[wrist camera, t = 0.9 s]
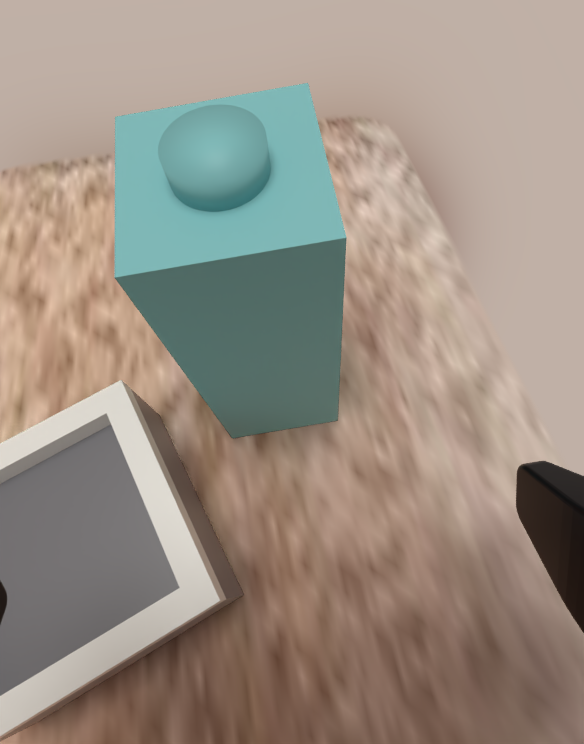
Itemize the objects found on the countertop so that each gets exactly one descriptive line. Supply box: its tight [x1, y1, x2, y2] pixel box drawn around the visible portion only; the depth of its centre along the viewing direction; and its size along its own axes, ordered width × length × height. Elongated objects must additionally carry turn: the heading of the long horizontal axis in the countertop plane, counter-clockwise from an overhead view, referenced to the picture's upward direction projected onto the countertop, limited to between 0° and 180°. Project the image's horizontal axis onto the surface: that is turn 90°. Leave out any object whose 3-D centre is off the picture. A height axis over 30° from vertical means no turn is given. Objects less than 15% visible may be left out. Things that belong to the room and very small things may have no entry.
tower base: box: [0, 380, 244, 741], centre depth 18 cm, size 9×9×4 cm
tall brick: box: [115, 83, 346, 438], centre depth 17 cm, size 5×5×14 cm
